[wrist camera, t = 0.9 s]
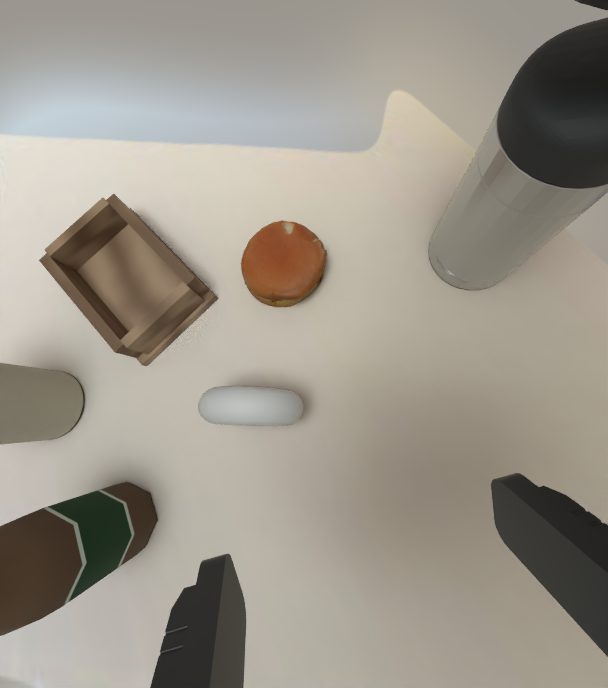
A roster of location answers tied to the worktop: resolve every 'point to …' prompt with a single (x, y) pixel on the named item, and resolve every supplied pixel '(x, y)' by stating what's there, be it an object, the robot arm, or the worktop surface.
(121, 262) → the walnut stand
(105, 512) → the beer bottle
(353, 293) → the worktop surface
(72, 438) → the worktop surface
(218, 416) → the donut
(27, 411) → the travel mug
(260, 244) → the burger
